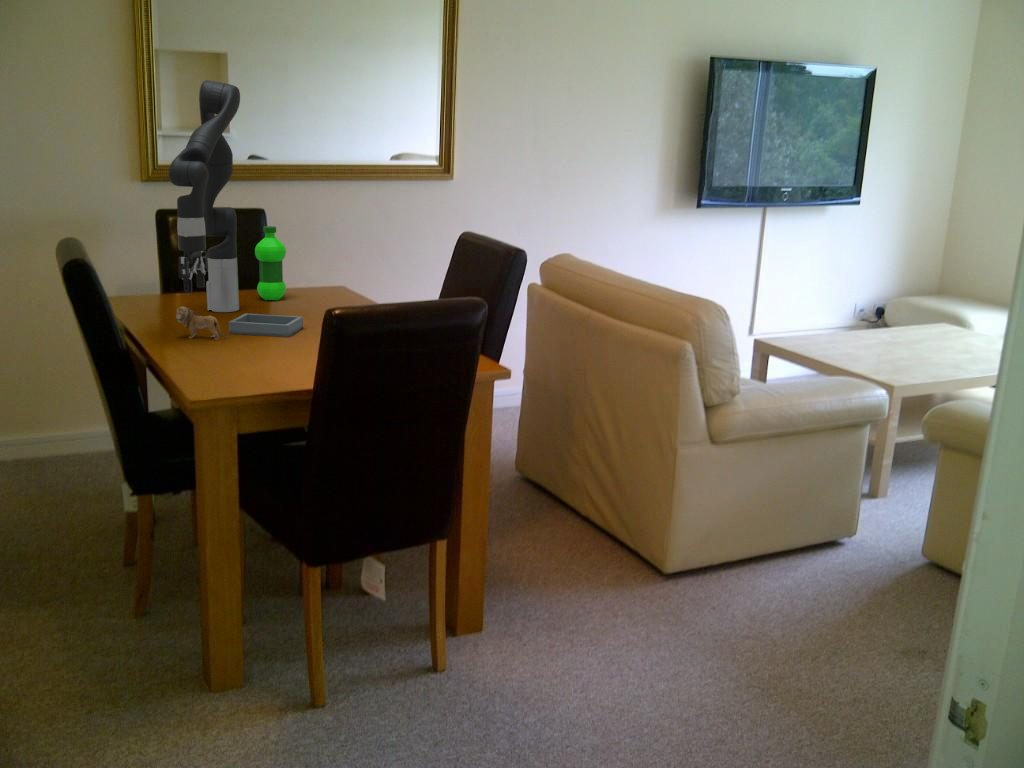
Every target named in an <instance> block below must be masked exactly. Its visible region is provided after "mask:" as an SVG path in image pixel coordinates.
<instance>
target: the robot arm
mask: <svg viewBox="0 0 1024 768" xmlns="http://www.w3.org/2000/svg"><path fill="white" fill-rule="evenodd" d="M240 93H241V91H240V89H239V88H238V87H237V85H236V86H235V85H233V84H230V83H225V82H219V81H217V80H208V79H207V80H204V81H202V83H201V85H200V86H199V93H198V94H199V96H198V100H199V101H198V102H199V114H200V125H199V126H198V127H197V128H196V129H194V131H193V132H192V133H191V135H190V137H189V139H188V142H187V144H186V146H185V148H184V149H182V151H181V152H180V153H179V154H177V156H176V157H175V158H174V159H173V160H172V162H171V163H170V165H169V168H168V172H167V173H168V179H169V181H170V182H171V184H172V185H174V186H176V187H186V188H187V187H188V188H189V187H190V188H192V189H191V192H190V193H189V194H185V195H180V196H179V197H177V199H176V205H177V207H176V210H177V222H176V223H177V225H176V226H177V228H176V229H177V241H178V242H177V243H178V244H177V247H178V250H179V251H180V252H183V256H179V257H178V263H177V264H178V278H179V279H181V280H183V292H184V293H185V294H191V293H193V280H192V278H193V274H195V280H196V281H195V282H196V288H197V289H204V288H206V304H207V305H206V307H207V311H209V310H212V311H211V312H214V313H230V312H237V311H239V310H240V299H239V274H238V273H239V272H238V271H239V270H238V246H237V244H238V243H237V228H238V226H237V221H238V220H237V213H236V210H235V209H234V208H233V207H231V206H230V207H229V206H228V207H226V206H219V207H217V206H216V207H215V206H214V204H215V201H216V200H217V199H216V198H218V195H219V194H220V192H221V191H222V190H223V189H224V188H225V186H227V184H228V182H229V181H230V179H231V177H232V176H233V171H234V169H233V165H234V163H233V162H234V161H233V160H234V159H233V158H234V157H233V151H232V148H231V146H230V145H229V142H228V141H227V139H226V138H225V137H224V135H223V133H224V131H226V129H227V128H228V126H229V125H230V123H231V122H232V121H233V119H234V117H235V116H236V114H237V113H238V110H239V108H240V104H241V94H240ZM207 237H225V238H224V240H223V241H222V242H221V243H219V244H217V245H214V246H211V247H209V248H208V249H207V239H206V238H207ZM206 249H207V250H206ZM207 272H208V280H207V281H206V280H205V275H206V273H207ZM205 281H206V283H205Z"/></svg>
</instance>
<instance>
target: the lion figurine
mask: <svg viewBox="0 0 1024 768" xmlns="http://www.w3.org/2000/svg"><path fill="white" fill-rule="evenodd" d="M175 319H177V322H179V323H180V324H182V325H183V327H184V328H188V329H189V332H190V336H189V335H188V338H189V339H190V338H191V339H194V338H195V337H196V336H195V335H197V329H202V330H203V329H206V328H208V330H209V331H210V332H211V333H212V335H210V338H212V337H214V341H219V340H220V335H221V336H222V337H223V338H226V339H227V338H228V336H227V335H225V334H223V332H222V329H221V327H220V324H219V321H218V319H217V318H216V317H215V316H212V315H206V316H202V315H200V314H198V313H197V312H196V311H195V310H192V309H191V308H189V307H186V306H179V307H178V308H176V315H175ZM217 329H218V331H217ZM219 333H220V335H219ZM193 337H194V338H193Z"/></svg>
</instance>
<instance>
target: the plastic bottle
mask: <svg viewBox="0 0 1024 768" xmlns="http://www.w3.org/2000/svg"><path fill="white" fill-rule="evenodd" d="M263 233H264V235H265V236H264V238H263V239H261V240H260V241H259V242H258V243H257V244H256V246H255V248H254V255H255V258H256V259H257V260H258V262H259V263H258V267H259V270H258V272H259V273H258V274H259V282H258V284H257V287H256V291H257V294H258V295H259V296H260V297H261V298H262V299H264V301H267V300H276V301H280V299H282V297H284V295H285V293H286V291H287V286H286V284H285V282H284V274H283V270H284V269H283V267H284V266H283V260H284V259H285V257H286V254H287V252H286V251H287V249H286V246H285V244H284V243H283V242H281V240H279V238H278V237H276V233H277V226H276V225H275V226H272V225H267V226H263Z"/></svg>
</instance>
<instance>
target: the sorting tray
mask: <svg viewBox="0 0 1024 768" xmlns="http://www.w3.org/2000/svg"><path fill="white" fill-rule="evenodd" d="M301 328H303V329H304V317H303V316H296V315H281V314H280V315H279V314H278V315H277V314H263V313H261V314H259V313H247V312H246V313H244V314H242V315H239V316H238V317H235V318H234V319H232V320H229V321H228V334H229V335H242V336H243V335H244V336H245V335H246V336H247V335H248V336H260V335H261V336H265V337H276V336H277V338H278V337H281V338H291V336H293V335H294V333H295V334H297V331H298V332H299V331H301V330H302V329H301ZM300 329H301V330H300Z"/></svg>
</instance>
